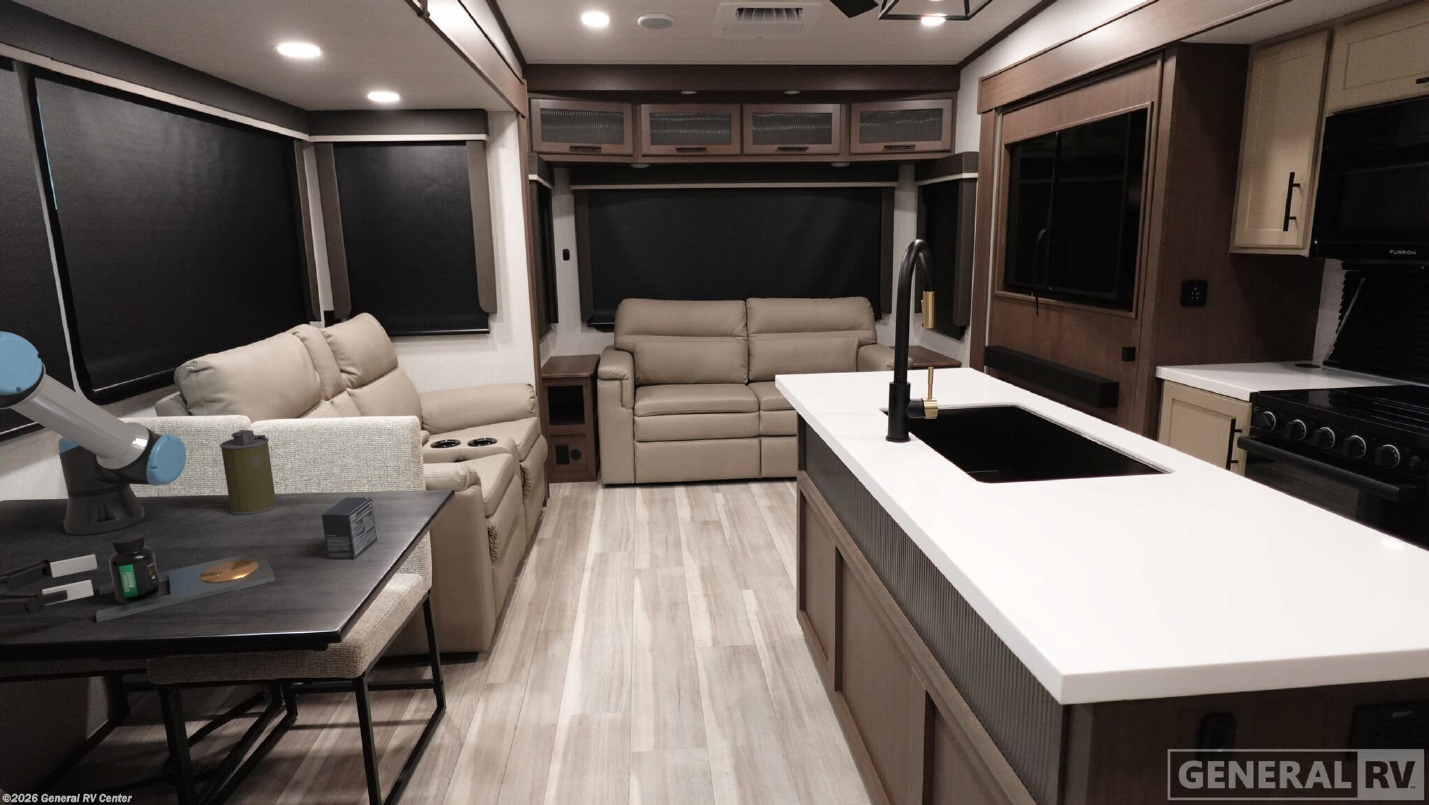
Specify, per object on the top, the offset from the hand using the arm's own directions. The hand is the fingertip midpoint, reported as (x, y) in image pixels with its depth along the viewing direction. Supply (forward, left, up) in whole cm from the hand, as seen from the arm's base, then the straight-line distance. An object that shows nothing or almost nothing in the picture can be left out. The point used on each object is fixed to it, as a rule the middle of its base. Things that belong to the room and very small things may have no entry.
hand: (94, 573), depth 141 cm
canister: (-8, +52, -7) cm, 53 cm away
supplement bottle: (+4, +4, -7) cm, 9 cm away
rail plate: (+10, +10, -7) cm, 15 cm away
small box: (+32, +30, -7) cm, 44 cm away
